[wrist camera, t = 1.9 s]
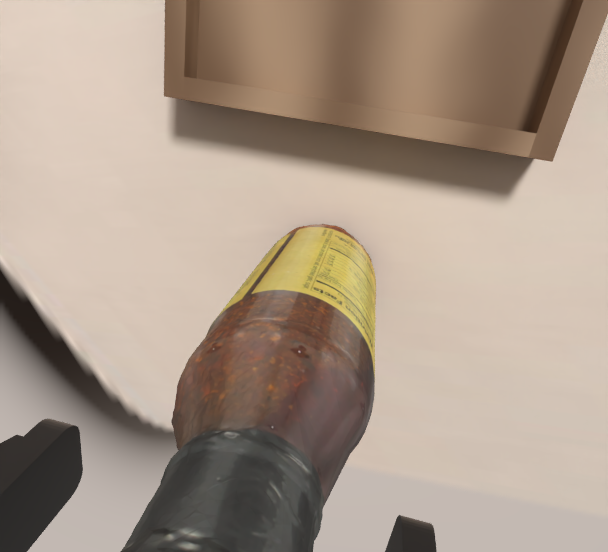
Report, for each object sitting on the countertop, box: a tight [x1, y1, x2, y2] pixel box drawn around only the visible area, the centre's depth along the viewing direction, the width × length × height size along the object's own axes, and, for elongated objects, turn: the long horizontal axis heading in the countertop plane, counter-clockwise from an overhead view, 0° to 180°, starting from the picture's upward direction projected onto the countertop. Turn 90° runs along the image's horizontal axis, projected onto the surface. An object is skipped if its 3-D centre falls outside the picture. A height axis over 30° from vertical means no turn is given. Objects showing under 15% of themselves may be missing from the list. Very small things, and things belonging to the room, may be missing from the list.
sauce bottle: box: [121, 224, 376, 552], centre depth 15 cm, size 6×6×20 cm
